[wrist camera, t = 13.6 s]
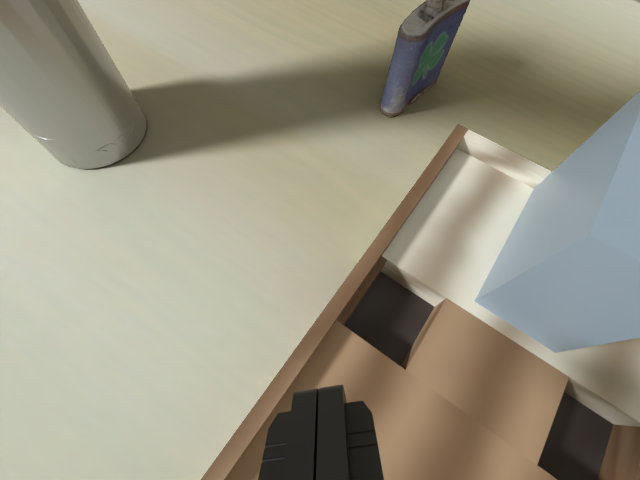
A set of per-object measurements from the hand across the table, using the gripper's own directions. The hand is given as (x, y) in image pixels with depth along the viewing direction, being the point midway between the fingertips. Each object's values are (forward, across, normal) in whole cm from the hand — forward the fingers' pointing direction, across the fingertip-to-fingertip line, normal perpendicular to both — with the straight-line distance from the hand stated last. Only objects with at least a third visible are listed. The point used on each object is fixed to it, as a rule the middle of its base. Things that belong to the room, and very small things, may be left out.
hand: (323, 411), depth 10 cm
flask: (+32, -12, -11) cm, 36 cm away
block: (+16, -16, +4) cm, 23 cm away
